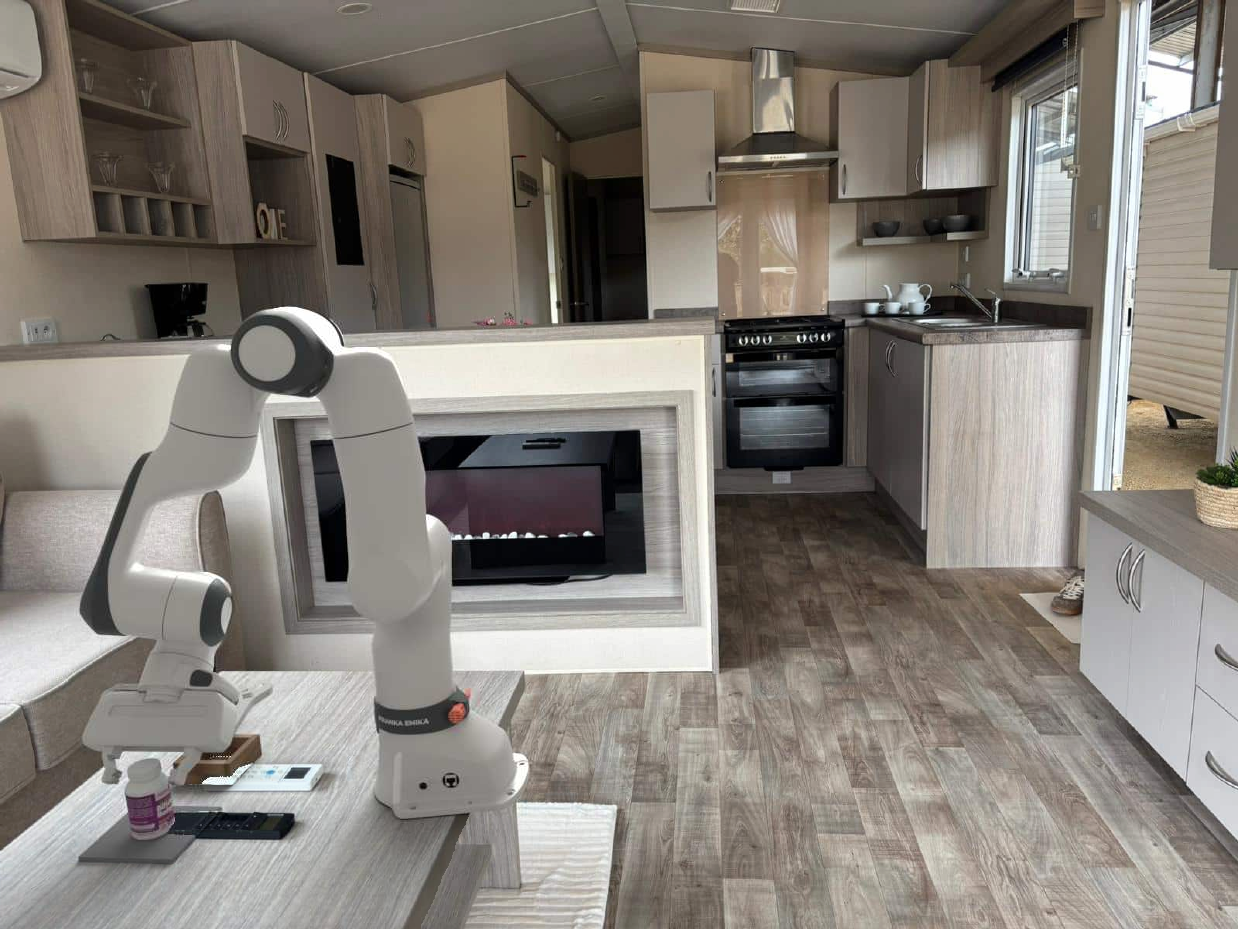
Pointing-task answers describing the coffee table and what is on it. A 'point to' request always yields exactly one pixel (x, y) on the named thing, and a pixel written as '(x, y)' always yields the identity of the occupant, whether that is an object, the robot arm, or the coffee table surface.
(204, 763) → the walnut collar
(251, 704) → the adjustable wrench
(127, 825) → the charcoal mat
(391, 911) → the coffee table surface
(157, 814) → the pill bottle
